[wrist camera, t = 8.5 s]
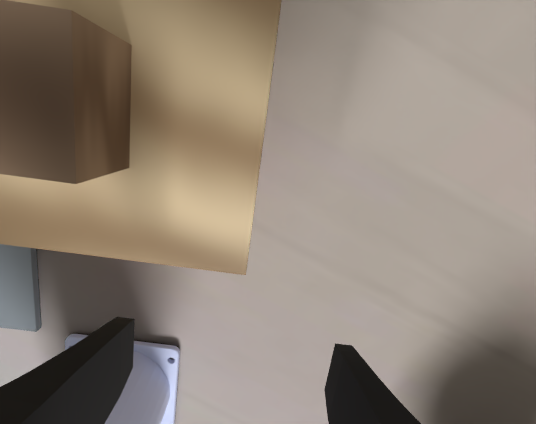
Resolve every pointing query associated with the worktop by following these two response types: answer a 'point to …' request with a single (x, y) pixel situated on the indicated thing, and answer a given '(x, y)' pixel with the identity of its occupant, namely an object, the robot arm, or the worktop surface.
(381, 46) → the worktop surface
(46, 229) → the cover board
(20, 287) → the shallow square tray
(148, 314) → the worktop surface
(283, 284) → the worktop surface
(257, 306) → the worktop surface
